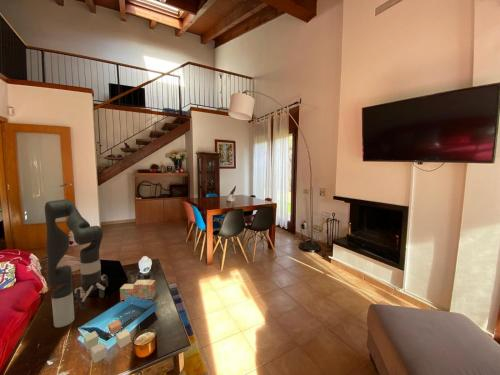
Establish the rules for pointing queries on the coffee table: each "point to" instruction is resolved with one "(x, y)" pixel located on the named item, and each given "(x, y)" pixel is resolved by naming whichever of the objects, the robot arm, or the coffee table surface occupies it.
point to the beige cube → (98, 352)
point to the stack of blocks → (139, 290)
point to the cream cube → (123, 338)
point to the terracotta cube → (114, 326)
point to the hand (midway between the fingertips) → (92, 302)
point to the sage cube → (91, 340)
